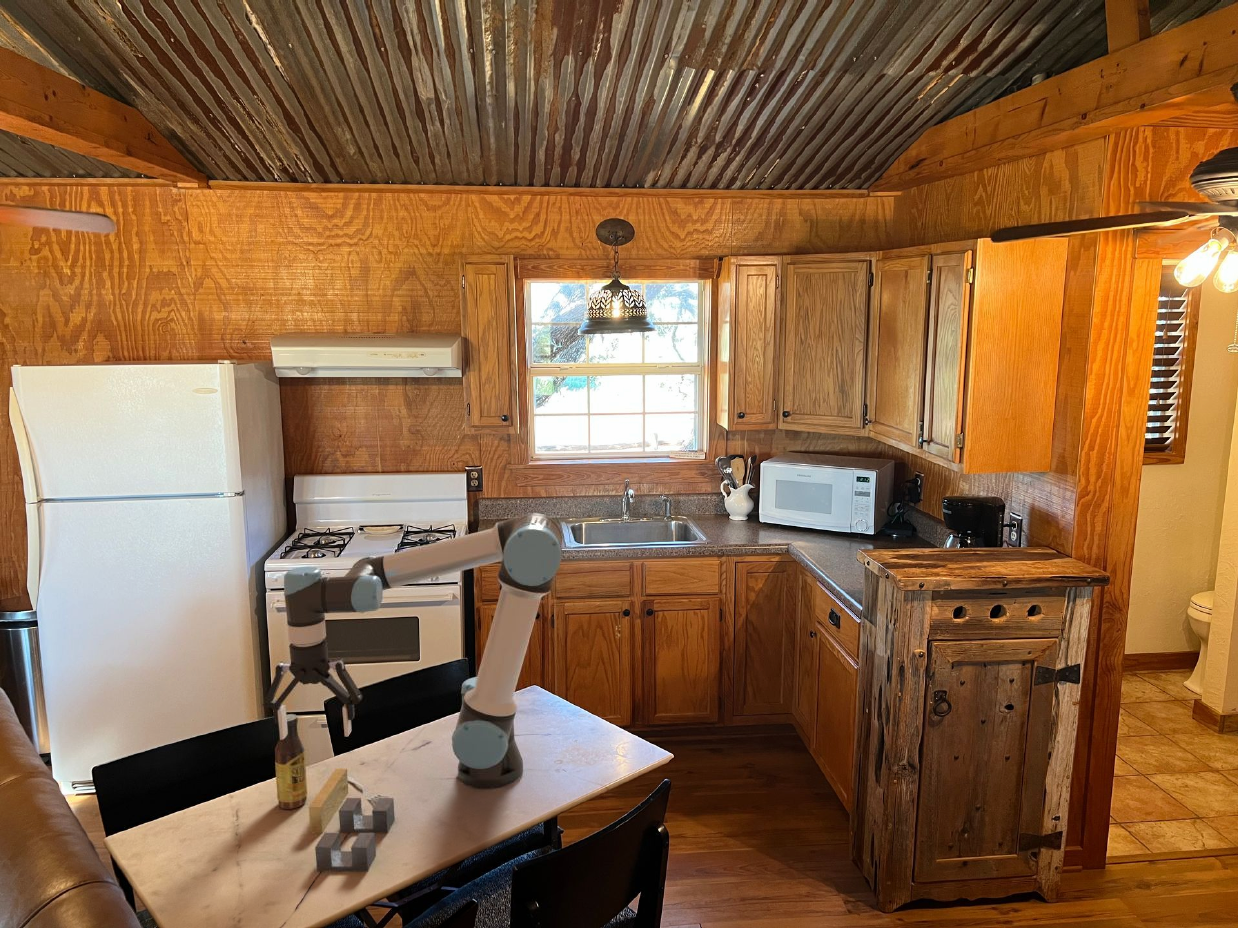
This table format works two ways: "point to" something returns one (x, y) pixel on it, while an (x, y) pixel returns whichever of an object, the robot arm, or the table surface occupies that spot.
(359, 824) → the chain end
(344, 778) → the link bar
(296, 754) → the sauce bottle
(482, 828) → the table surface
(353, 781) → the fork
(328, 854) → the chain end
